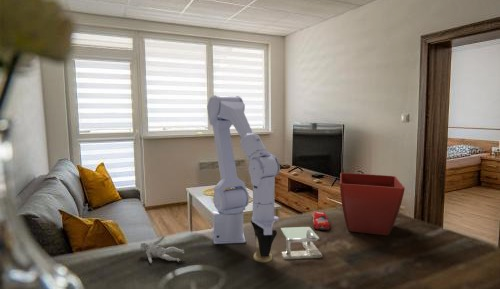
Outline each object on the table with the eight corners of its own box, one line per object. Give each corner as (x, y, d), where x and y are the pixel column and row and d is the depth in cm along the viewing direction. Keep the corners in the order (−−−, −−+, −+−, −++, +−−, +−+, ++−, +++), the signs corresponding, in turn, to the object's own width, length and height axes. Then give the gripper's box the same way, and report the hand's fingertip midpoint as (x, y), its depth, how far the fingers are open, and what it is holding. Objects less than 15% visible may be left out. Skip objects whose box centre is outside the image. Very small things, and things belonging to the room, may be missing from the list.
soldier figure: (172, 272, 79) (130, 253, 81) (174, 276, 83) (134, 259, 85) (187, 243, 84) (146, 226, 85) (188, 249, 88) (149, 233, 89)
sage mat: (287, 240, 97) (287, 239, 97) (280, 228, 106) (280, 227, 106) (319, 239, 98) (319, 238, 98) (309, 227, 108) (309, 226, 108)
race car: (330, 232, 105) (330, 220, 104) (313, 231, 106) (313, 219, 105) (326, 219, 118) (326, 208, 117) (311, 218, 119) (311, 207, 118)
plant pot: (402, 241, 97) (405, 187, 95) (337, 234, 102) (339, 183, 101) (393, 221, 115) (395, 175, 114) (338, 216, 121) (340, 172, 119)
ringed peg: (254, 262, 82) (255, 240, 82) (252, 254, 87) (252, 233, 87) (273, 261, 83) (274, 239, 82) (270, 253, 88) (270, 232, 87)
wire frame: (284, 259, 84) (284, 241, 84) (277, 245, 93) (277, 229, 93) (322, 257, 86) (322, 239, 85) (311, 243, 94) (312, 227, 94)
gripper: (284, 209, 77) (283, 262, 78) (273, 194, 91) (272, 239, 93) (256, 210, 76) (255, 264, 77) (248, 194, 90) (248, 240, 92)
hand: (262, 251), depth 85 cm, fingers open, 5 cm apart
